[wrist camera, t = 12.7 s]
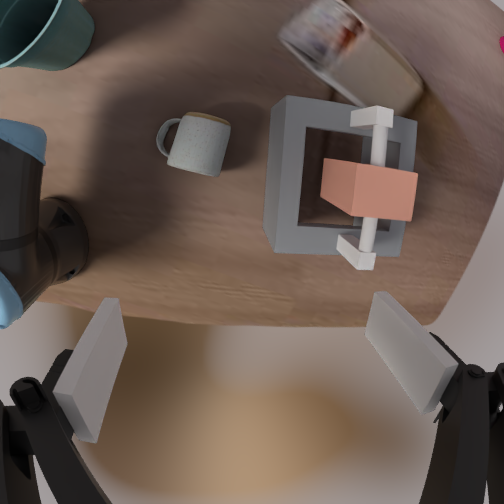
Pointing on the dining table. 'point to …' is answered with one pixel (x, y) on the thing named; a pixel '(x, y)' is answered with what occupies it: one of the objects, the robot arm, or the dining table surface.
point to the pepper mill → (502, 43)
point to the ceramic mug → (197, 143)
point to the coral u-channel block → (369, 189)
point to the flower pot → (43, 33)
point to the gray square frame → (291, 167)
